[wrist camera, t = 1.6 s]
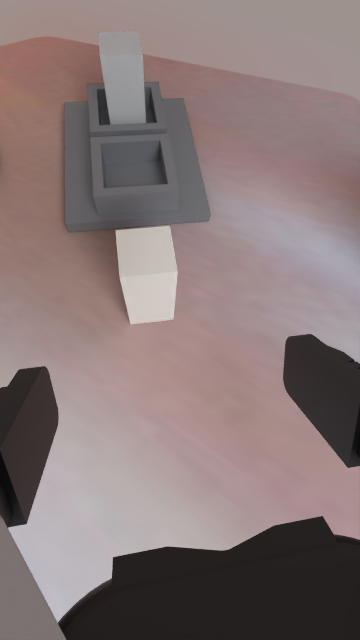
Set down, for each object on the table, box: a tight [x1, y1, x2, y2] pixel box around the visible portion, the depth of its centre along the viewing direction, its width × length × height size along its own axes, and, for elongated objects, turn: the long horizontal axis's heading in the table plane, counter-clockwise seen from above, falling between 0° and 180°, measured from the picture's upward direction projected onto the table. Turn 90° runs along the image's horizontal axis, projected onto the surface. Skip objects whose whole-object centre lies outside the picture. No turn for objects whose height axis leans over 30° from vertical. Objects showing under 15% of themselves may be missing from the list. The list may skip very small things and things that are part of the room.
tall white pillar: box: [116, 226, 178, 324], centre depth 31 cm, size 5×5×10 cm
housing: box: [64, 32, 210, 232], centre depth 39 cm, size 18×23×12 cm
